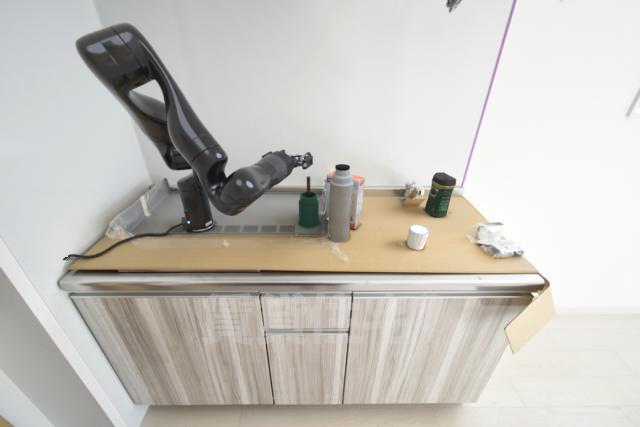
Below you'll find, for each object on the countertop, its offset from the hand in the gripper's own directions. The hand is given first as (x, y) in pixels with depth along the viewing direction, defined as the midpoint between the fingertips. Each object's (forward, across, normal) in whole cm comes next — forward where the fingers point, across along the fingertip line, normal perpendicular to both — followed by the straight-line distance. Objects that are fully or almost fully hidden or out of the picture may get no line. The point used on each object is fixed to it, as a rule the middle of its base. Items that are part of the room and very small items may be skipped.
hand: (296, 153), depth 77 cm
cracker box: (+16, -13, +32) cm, 38 cm away
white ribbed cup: (+8, -42, +32) cm, 54 cm away
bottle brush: (+11, 0, +32) cm, 33 cm away
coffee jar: (+38, -52, +32) cm, 72 cm away
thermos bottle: (+5, -14, +32) cm, 36 cm away
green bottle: (+11, 0, +32) cm, 34 cm away
